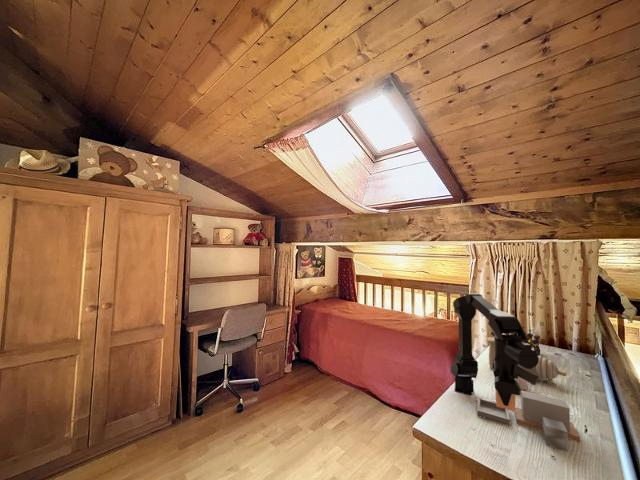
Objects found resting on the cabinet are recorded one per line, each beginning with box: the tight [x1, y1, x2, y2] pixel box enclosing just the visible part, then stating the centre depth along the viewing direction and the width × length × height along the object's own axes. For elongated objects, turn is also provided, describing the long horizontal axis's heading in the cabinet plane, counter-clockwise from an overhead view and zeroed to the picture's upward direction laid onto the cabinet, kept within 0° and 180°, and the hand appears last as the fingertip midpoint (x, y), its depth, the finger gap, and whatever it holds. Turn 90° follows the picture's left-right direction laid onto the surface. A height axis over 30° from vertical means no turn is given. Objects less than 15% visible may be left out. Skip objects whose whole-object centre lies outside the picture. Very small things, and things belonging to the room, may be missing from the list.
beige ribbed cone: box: [532, 355, 567, 386], centre depth 119 cm, size 11×17×11 cm, turn 47°
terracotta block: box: [495, 389, 516, 413], centre depth 84 cm, size 5×5×6 cm
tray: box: [476, 396, 511, 427], centre depth 95 cm, size 10×10×2 cm
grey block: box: [542, 417, 569, 453], centre depth 81 cm, size 5×5×6 cm
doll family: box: [523, 332, 542, 357], centre depth 144 cm, size 23×9×13 cm, turn 144°
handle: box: [486, 336, 494, 370], centre depth 130 cm, size 5×6×15 cm
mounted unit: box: [514, 390, 581, 443], centre depth 89 cm, size 16×8×9 cm, turn 58°
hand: (505, 401), depth 84 cm, fingers closed on terracotta block, 5 cm apart
